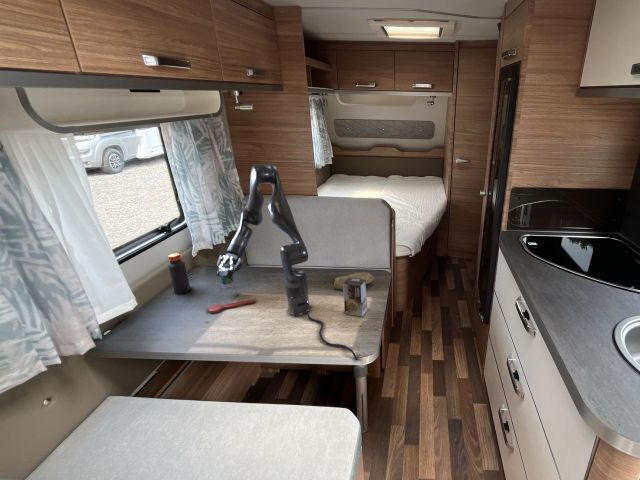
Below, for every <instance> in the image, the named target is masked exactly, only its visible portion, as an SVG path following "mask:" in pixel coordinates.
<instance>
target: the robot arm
mask: <svg viewBox="0 0 640 480" xmlns="http://www.w3.org/2000/svg"><path fill="white" fill-rule="evenodd" d="M249 177H250V179H249V197H248V200H247V204H246V208H245V209H243V210H242V212H241V213H240V218H239V219H240V220H239V225H238V227H237V230H236V232H235V234H234V236H233V237H232V239H231V241H230V243H229V245H228V247H227V250H226V254H225V255H223V254H219V257H218V260H217V263H216V267H218V268H217V269H218V270H217V271H216V276H217V277H220V275H219V268H221V267H224V266H230V270H229V272H228V274H227V276H226V277H227V278H229V279H230V278H231V277H232V275H233V276H234V273H235V272H239V271H240V270H241V268H242V267H243V265H244V263H245V259H243V258H241V257H243V256H244V253H245V251H246V249H247V247H248V245H249V242H250V239H251V236H252V235H253V232H254V230H253V229H252V228H251V227H249V226H248V225H246V223H247V224H249V225H252V226H255V227H257V226H260V225H261V224H262V223H263V221H264V219H263V218H264V216H263V214H264V213H263V206H264V203H265V196H264V194H263V192H262V191H261V190H260V188H259V186H260V185H271V187H272V194H271V196H270V199H269V202H268V206H267V210H268V211H267V212H268V213H269V217H270V219H271V221H272V223H273V224H274V225H275V226H276V227H277V228H278V229H279V230H281V231H282V232H283V233H285V234H286V235H287V236H288V237H289V238H290V240H291V241H292V242H293V243H290V244H286V245H283V246H281V247H280V250H279V253H280V261H281V265H282V270H283V276H284V283H285V291H286V298H287V307H288V313H289V314H290V315H292V316H293V317H298V316H302V315H306V316H307V317H308V319H309V320H310V321H312V322H316V323H319V324H321V327H320V329H319V333H318V334H319V338H320V340H321V341H322V342H323V343H324V344H326V345H328V346H332V347H333V346H334V347H342V348H345V349H346V350H348V351H349V352H350V353H351V354H352V356H353V357H354V359H355V361H358V360H359V359H358V356H357V355H356V353H355V351H353V349H352V348H350V347H349V346H347V345H345V344H339V343H331V342H328V341H326V340H325V339H324V338H323V336H322V330H323V328H324V323H323V322H322V321H321V320H318V319H314V318H312V317H311V316H310V313H309V312H310V310H311V308H310V307H311V306H310V300H309V289H308V281H307V280H308V279H307V271H306V270H305V269H304V268H302V267H297V266H296V265H298V264H303V263H306V262H307V261H309V251H308V248H307V246H306V244H305V242H304V240H303V238H302V235H301V233H300V231H299V229H298V226H297V224H296V220H295V217H294V215H293V212H292V210H291V209H292V208H291V207H290V204H289V202H288V200H287V197H286V194H285V191H284V188H283V185H282V181H281V177H280V173H279V170H278V168H277V167H276V165H275V164H273V163H256V164H253V165H252V167H251V170H250V176H249ZM294 266H295V267H294ZM360 398H361V399H360V400H361V425H362V431H365V413H364V411H365V410H364V392H362V393H361V397H360Z"/></svg>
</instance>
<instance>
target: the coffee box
mask: <svg viewBox="0 0 640 480" xmlns="http://www.w3.org/2000/svg"><path fill="white" fill-rule="evenodd" d="M342 292H343V293H342V294H343V305H344V314H346V315H351V316H357V317H364V316H365V314H366V312H367V311H368V293H367V284H366V280H364V279H357V278H350V277H349V278H347V280H346V281H345V282H344V283H343V289H342Z"/></svg>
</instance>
